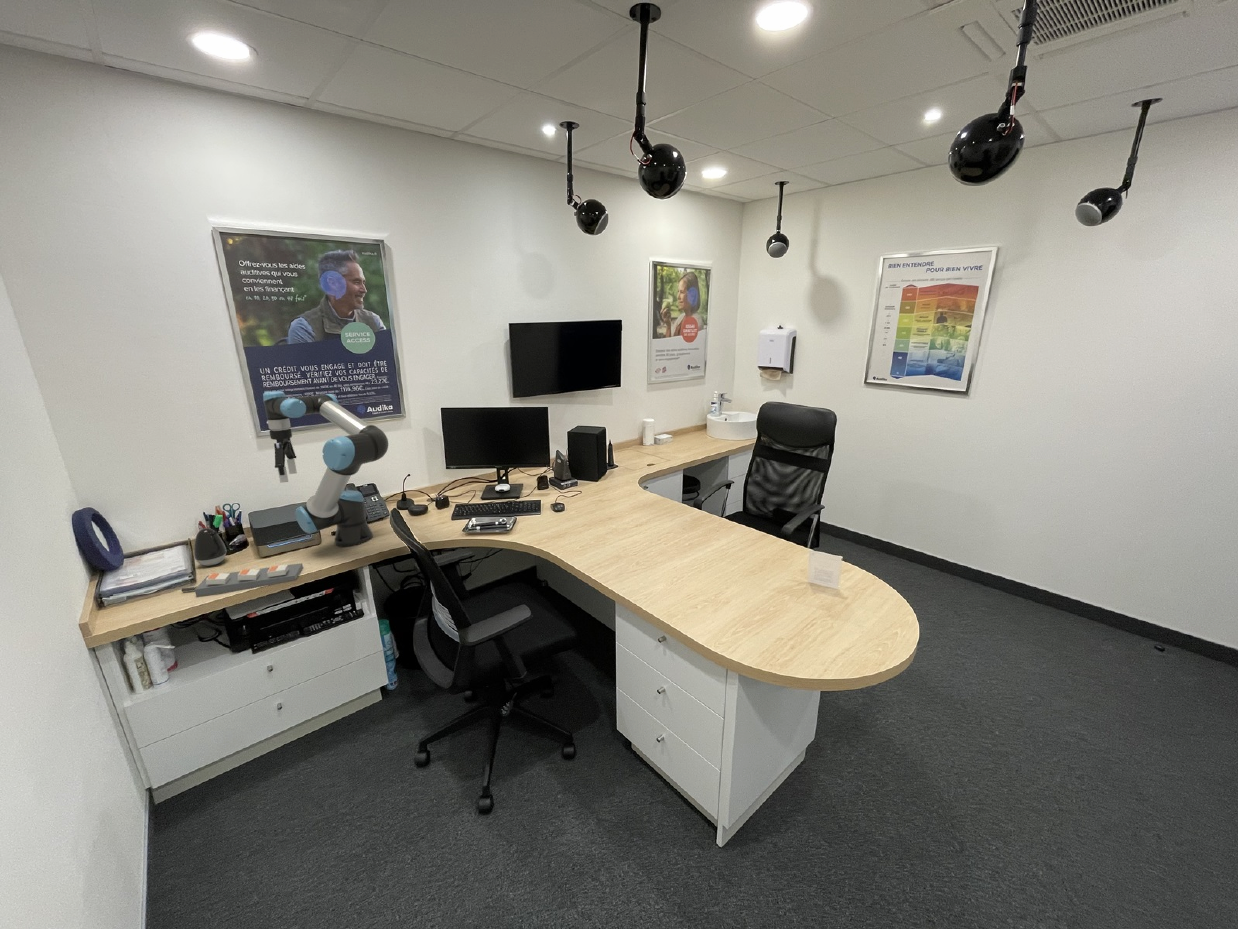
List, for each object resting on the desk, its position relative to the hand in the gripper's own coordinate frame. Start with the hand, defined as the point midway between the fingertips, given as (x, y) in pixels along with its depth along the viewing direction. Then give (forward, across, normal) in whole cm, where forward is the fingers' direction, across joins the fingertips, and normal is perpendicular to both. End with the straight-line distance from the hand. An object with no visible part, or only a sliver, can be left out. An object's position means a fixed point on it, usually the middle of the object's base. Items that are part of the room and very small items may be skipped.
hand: (288, 477), depth 209 cm
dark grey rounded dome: (+32, +7, -30) cm, 44 cm away
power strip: (+32, +32, -9) cm, 46 cm away
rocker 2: (+28, +34, -9) cm, 45 cm away
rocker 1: (+28, +34, -18) cm, 48 cm away
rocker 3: (+28, +34, 0) cm, 44 cm away
